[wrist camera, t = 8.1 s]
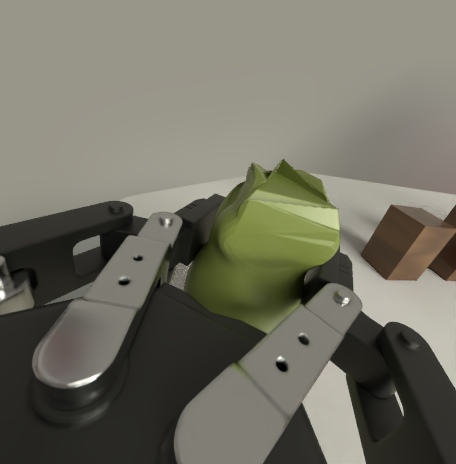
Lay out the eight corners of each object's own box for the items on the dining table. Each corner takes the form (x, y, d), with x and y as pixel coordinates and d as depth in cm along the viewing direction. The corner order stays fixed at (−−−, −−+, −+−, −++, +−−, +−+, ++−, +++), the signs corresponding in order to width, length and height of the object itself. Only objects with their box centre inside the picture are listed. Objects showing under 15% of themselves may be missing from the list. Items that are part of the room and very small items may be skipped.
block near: (386, 280, 27) (425, 226, 24) (360, 254, 31) (390, 204, 27) (416, 280, 28) (458, 229, 25) (388, 255, 32) (421, 208, 29)
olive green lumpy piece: (264, 310, 16) (331, 162, 11) (286, 398, 12) (413, 220, 7) (178, 301, 15) (210, 134, 10) (167, 394, 11) (214, 180, 6)
